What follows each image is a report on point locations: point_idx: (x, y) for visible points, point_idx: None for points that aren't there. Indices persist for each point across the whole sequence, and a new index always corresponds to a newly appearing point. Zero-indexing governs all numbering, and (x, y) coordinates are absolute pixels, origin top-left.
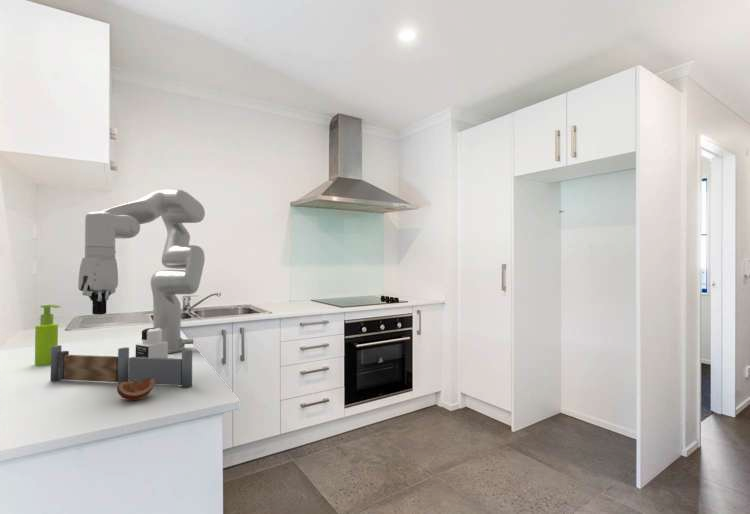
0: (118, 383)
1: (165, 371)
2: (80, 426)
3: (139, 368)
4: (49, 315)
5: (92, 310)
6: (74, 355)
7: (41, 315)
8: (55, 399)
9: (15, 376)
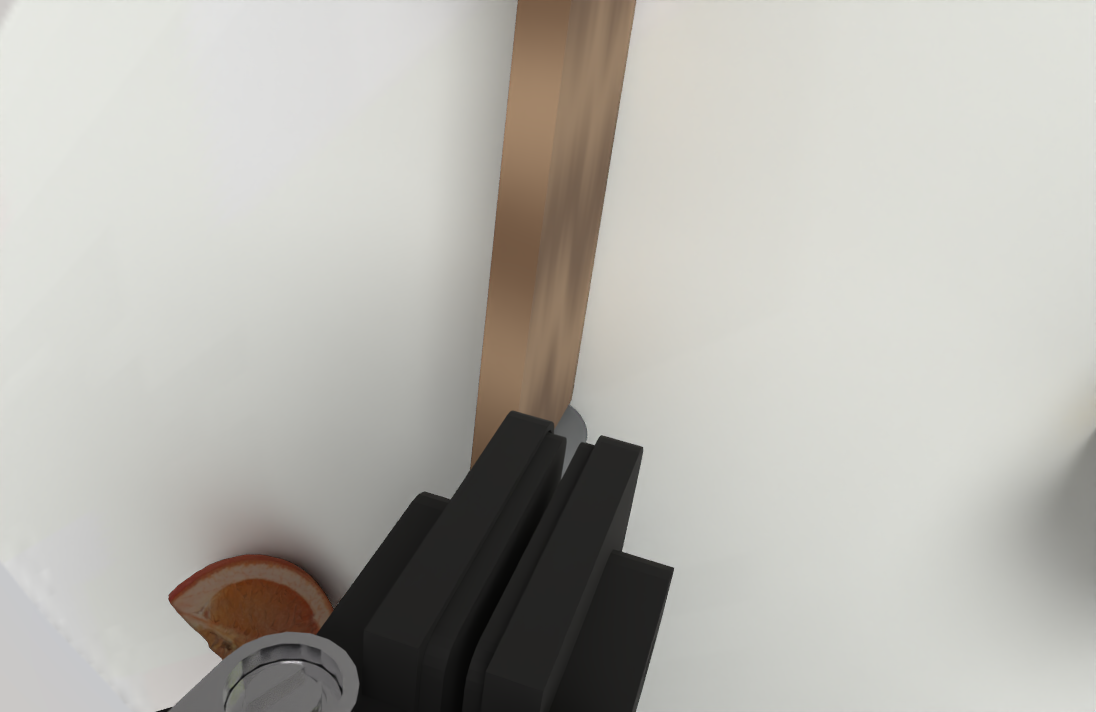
0: (172, 603)
1: None
2: (3, 500)
3: None
4: None
5: (487, 450)
6: (538, 21)
7: None
8: (217, 166)
9: None
